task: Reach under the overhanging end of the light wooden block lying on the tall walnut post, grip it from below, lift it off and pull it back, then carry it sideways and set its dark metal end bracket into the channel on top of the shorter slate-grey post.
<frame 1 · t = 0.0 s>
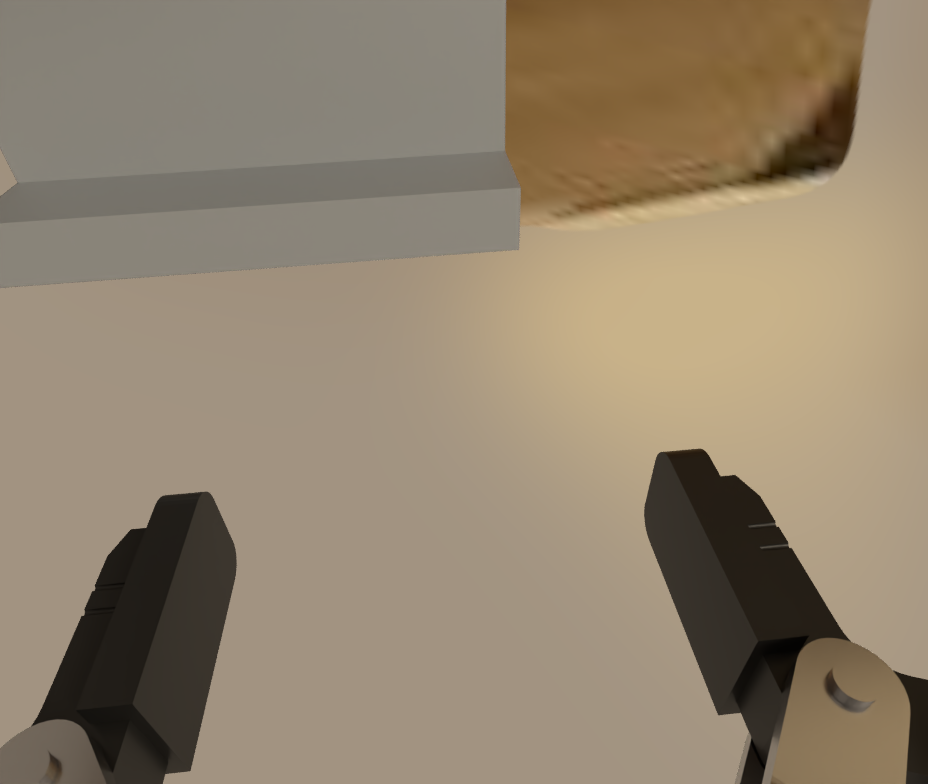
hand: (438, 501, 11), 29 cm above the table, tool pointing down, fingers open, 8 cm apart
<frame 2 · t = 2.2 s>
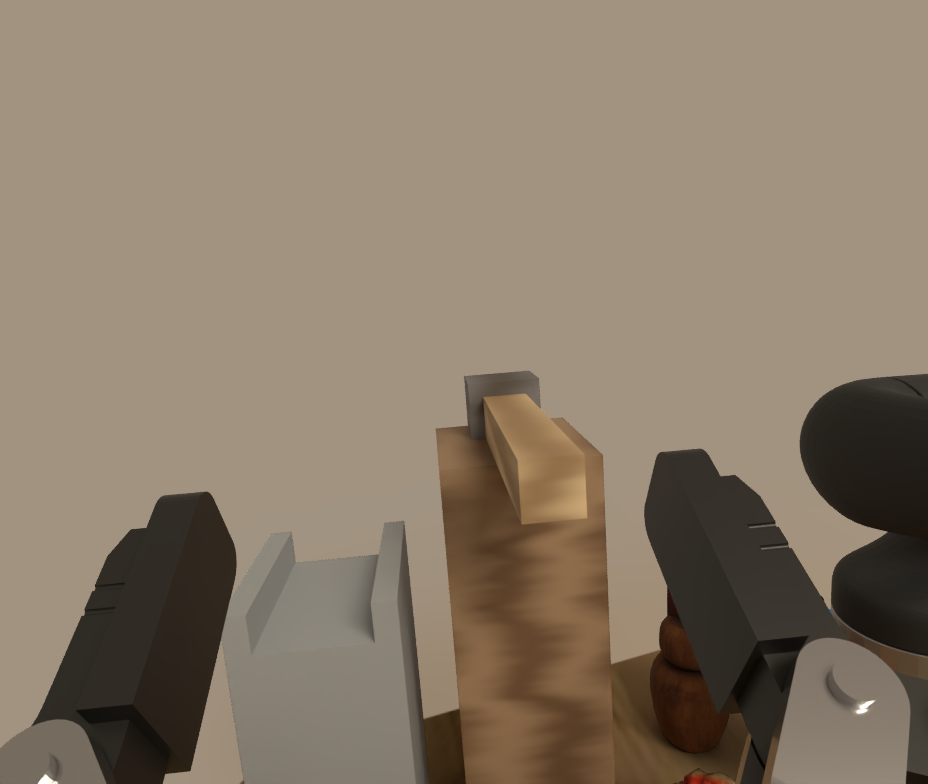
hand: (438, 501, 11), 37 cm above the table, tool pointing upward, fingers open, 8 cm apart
wooden figurine: (688, 738, 54), on the table
light wooden block: (520, 460, 37), point 30 cm above the table, touching walnut post
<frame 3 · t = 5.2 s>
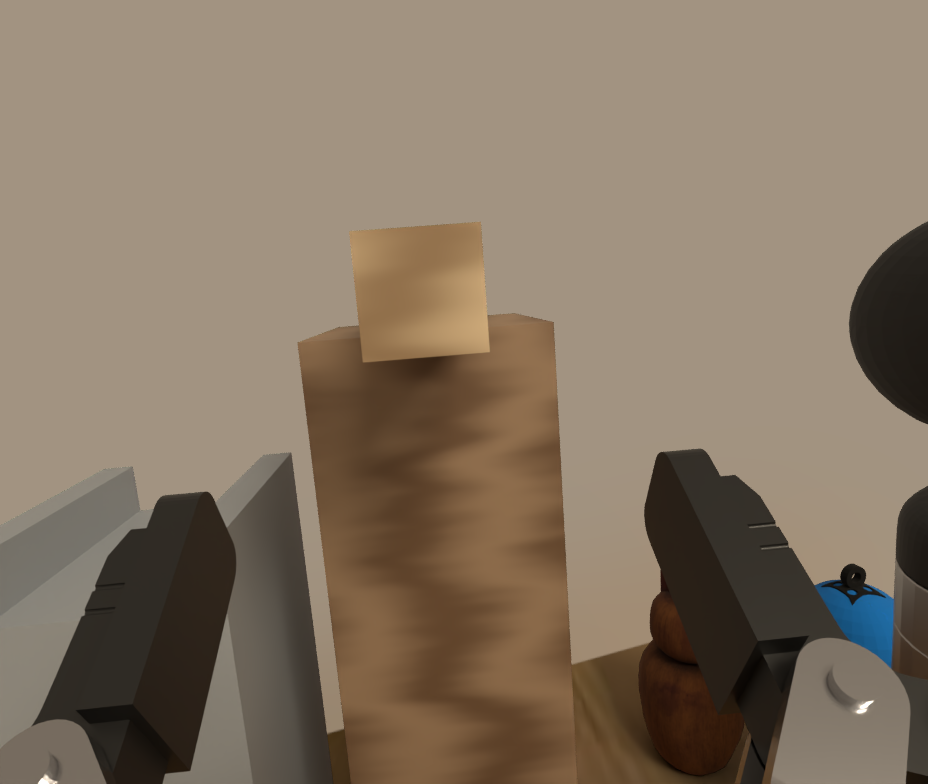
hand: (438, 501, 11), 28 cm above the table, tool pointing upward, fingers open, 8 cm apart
wooden figurine: (689, 754, 41), on the table
light wooden block: (426, 331, 24), point 30 cm above the table, touching walnut post
ornament: (850, 693, 45), on the table
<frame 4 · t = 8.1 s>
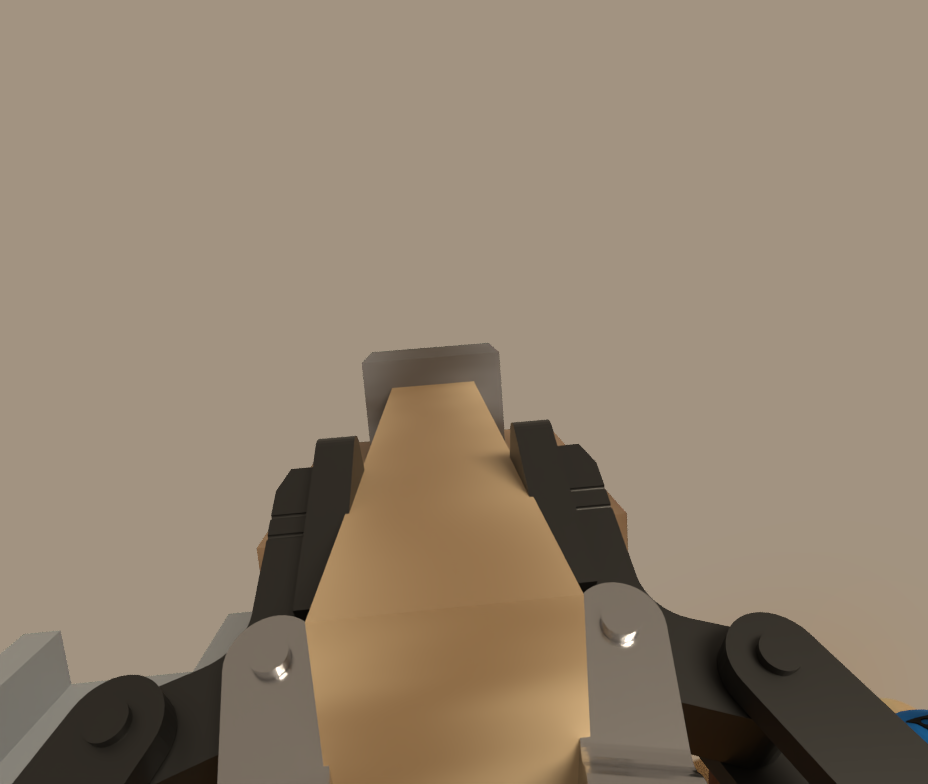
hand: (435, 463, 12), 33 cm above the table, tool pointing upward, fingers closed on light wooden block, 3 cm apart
light wooden block: (443, 523, 17), point 30 cm above the table, touching gripper, walnut post
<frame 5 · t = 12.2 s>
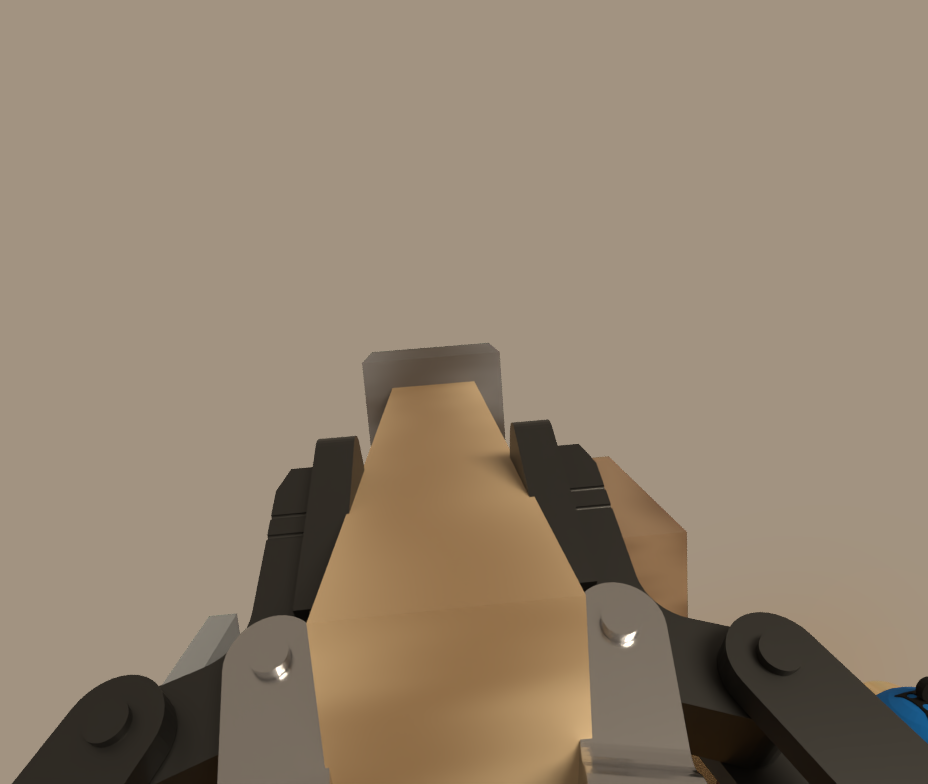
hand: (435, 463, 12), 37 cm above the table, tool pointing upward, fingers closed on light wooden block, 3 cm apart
light wooden block: (444, 523, 17), point 34 cm above the table, touching gripper
when the fingers open (25 cm above the table, at t = 16.4 s): light wooden block drops 1 cm, resting on grey post.
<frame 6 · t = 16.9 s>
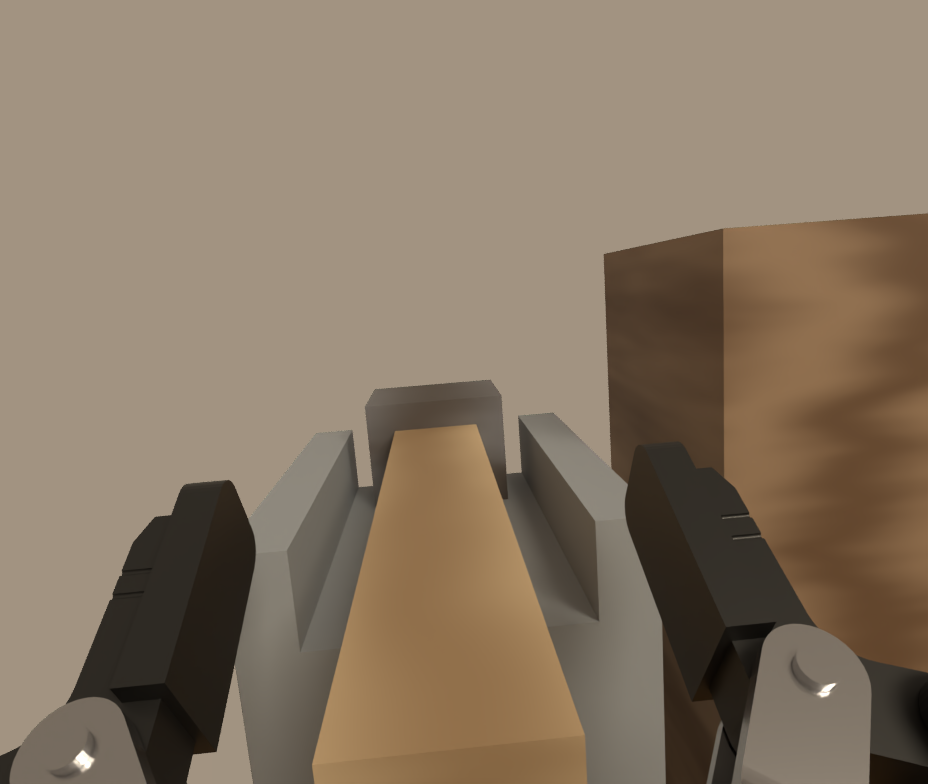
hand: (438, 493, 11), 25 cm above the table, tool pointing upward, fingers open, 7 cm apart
light wooden block: (446, 579, 17), point 21 cm above the table, touching grey post
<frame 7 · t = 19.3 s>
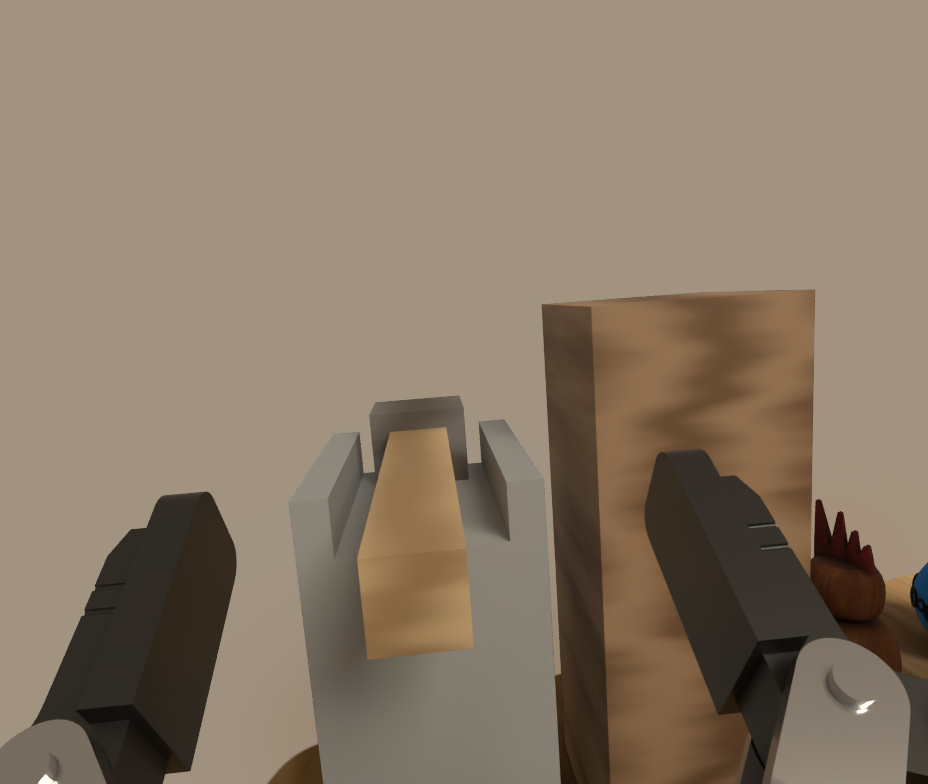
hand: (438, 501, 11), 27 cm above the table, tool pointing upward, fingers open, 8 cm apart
wooden figurine: (840, 710, 43), on the table
light wooden block: (422, 524, 27), point 21 cm above the table, touching grey post
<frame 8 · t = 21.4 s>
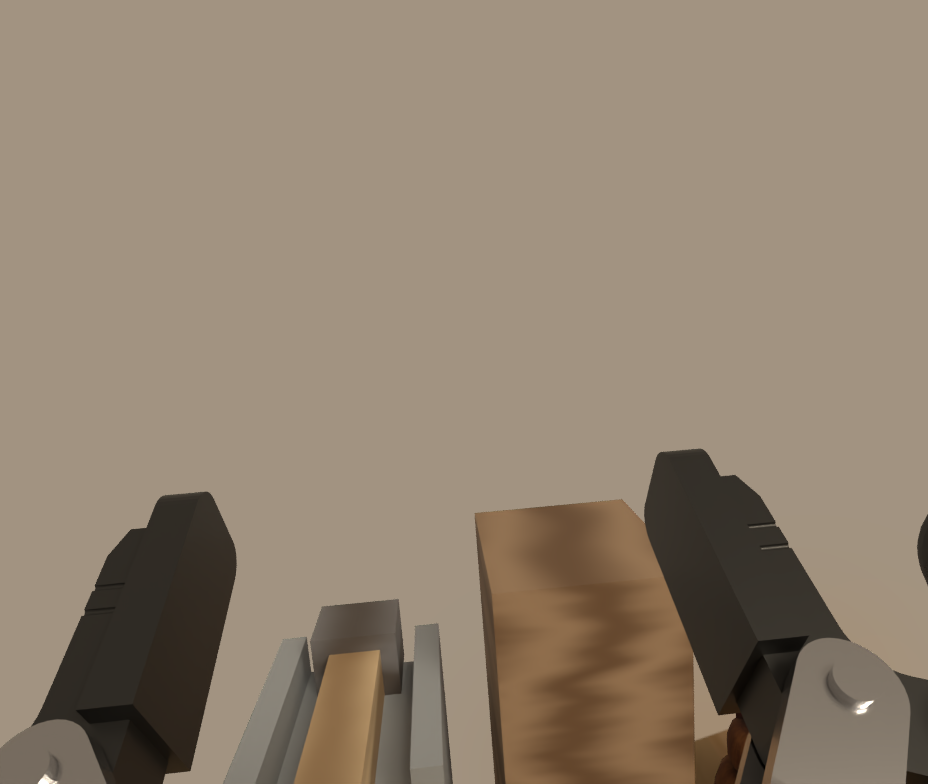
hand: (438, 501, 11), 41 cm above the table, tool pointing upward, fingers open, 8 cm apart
light wooden block: (346, 776, 31), point 21 cm above the table, touching grey post
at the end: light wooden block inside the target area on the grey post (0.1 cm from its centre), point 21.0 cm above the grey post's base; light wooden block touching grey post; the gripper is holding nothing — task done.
